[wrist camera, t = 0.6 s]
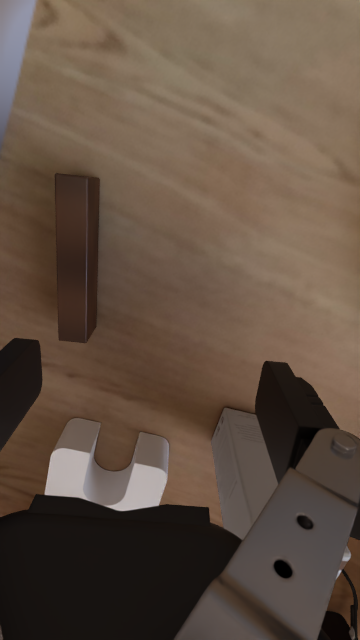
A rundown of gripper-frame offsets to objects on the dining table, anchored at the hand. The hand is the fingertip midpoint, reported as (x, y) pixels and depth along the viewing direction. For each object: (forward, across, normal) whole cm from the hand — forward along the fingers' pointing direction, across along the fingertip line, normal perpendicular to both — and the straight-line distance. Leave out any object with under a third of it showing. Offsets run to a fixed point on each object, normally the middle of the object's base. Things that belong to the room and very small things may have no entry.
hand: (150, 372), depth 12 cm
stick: (+14, +6, -1) cm, 15 cm away
